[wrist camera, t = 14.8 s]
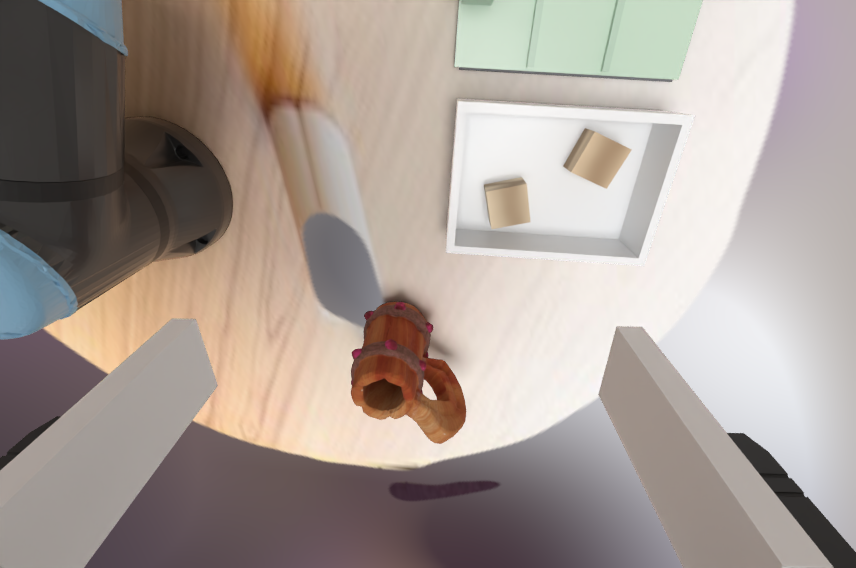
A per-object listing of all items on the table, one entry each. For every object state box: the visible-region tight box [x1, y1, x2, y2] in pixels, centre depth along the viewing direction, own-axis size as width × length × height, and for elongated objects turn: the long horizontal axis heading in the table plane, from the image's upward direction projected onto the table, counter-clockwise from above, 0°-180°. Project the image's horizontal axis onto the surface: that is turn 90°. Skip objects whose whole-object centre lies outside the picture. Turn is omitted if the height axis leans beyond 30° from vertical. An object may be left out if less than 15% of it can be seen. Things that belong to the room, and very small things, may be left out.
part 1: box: [484, 177, 530, 229], centre depth 41 cm, size 4×4×3 cm
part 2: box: [563, 128, 632, 189], centre depth 38 cm, size 4×4×3 cm
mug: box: [351, 302, 466, 444], centre depth 45 cm, size 15×8×15 cm, turn 52°
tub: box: [446, 98, 695, 266], centre depth 39 cm, size 20×14×6 cm
